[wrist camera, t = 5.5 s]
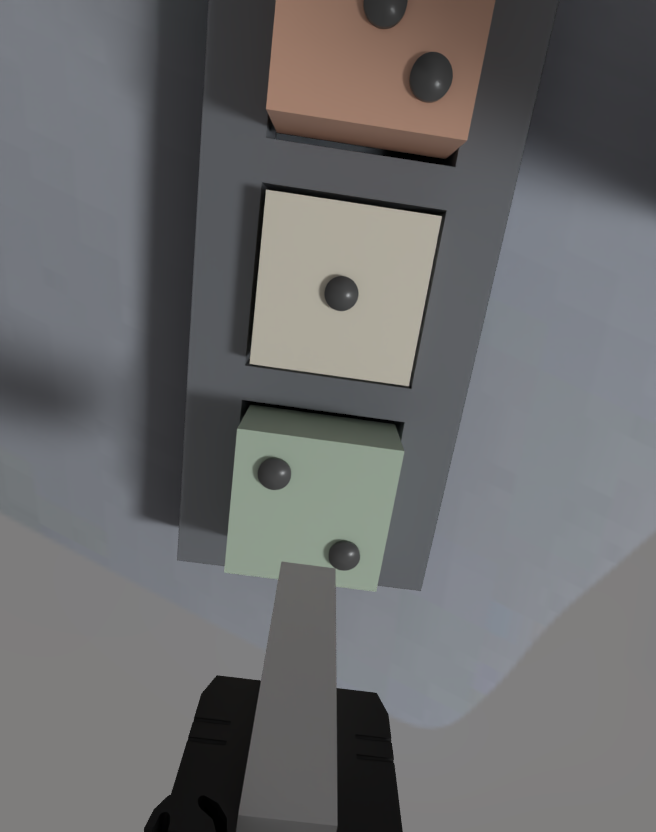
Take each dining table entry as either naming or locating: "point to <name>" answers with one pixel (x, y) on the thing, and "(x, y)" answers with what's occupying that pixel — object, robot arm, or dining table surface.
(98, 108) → the dining table surface
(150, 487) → the dining table surface
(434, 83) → the button three
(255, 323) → the button one
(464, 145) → the keypad board
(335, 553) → the button two
